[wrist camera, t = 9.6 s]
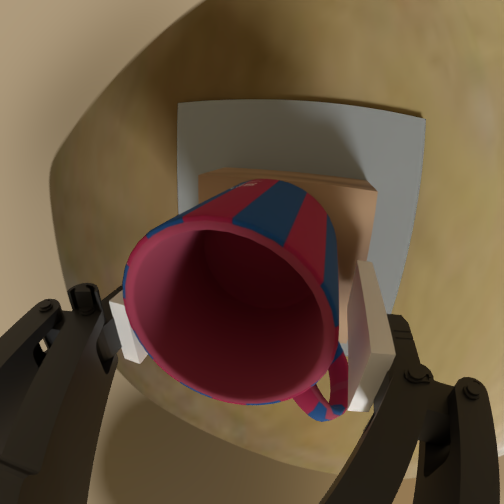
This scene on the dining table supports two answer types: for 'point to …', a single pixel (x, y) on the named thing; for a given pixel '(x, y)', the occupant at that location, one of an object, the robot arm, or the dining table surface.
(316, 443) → the dining table surface
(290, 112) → the mat
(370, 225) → the base block
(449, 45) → the dining table surface
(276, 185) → the mug
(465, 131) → the dining table surface
